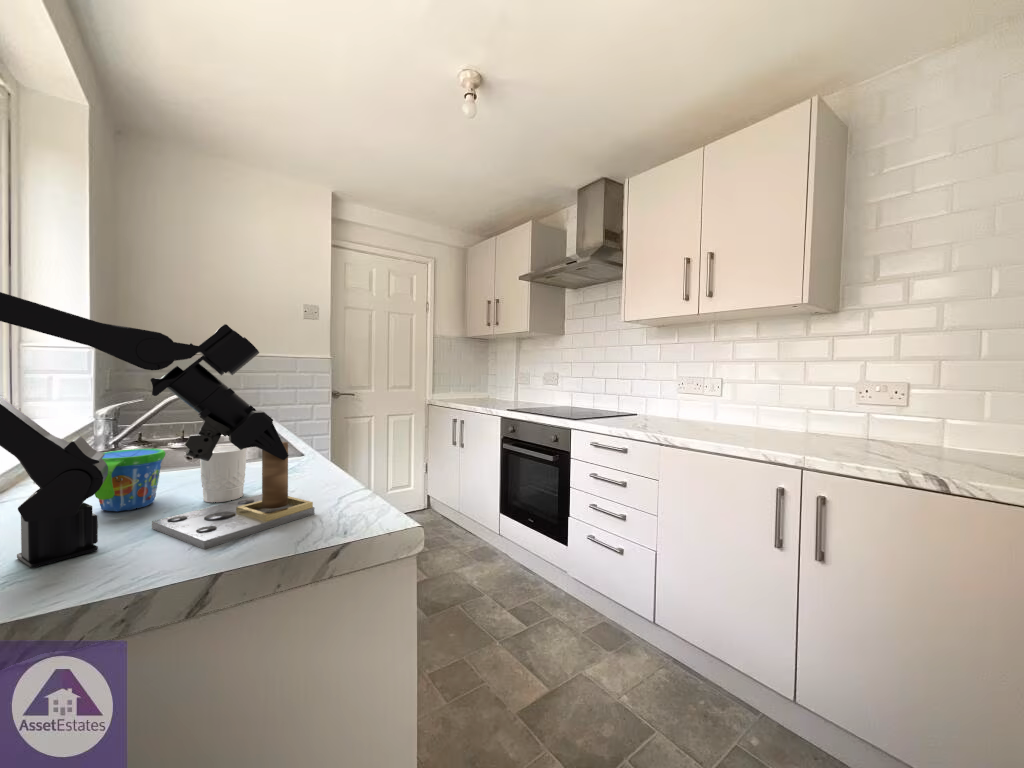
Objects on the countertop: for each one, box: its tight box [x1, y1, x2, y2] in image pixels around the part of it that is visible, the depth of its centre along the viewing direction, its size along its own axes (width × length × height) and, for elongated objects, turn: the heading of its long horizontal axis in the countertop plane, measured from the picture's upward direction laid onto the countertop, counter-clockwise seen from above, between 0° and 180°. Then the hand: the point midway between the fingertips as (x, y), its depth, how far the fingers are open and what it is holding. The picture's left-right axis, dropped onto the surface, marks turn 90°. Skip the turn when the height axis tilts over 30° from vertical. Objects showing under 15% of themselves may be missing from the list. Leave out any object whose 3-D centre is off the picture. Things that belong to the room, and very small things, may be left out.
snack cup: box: [94, 448, 166, 512], centre depth 80 cm, size 16×10×10 cm
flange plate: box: [151, 493, 315, 550], centre depth 73 cm, size 18×16×2 cm
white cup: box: [199, 445, 248, 504], centre depth 86 cm, size 8×8×10 cm
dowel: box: [261, 441, 289, 509], centre depth 75 cm, size 4×4×11 cm
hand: (283, 456), depth 76 cm, fingers closed on dowel, 4 cm apart
